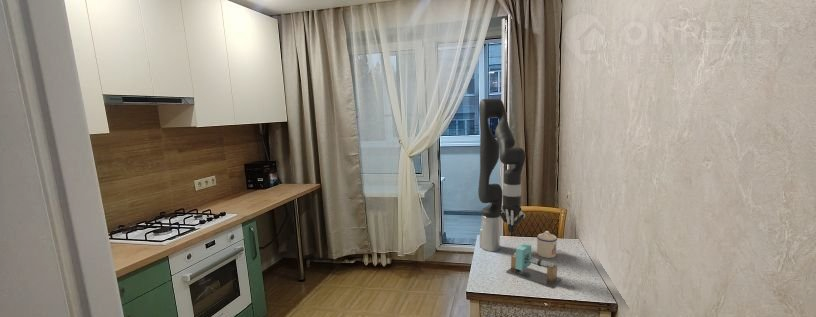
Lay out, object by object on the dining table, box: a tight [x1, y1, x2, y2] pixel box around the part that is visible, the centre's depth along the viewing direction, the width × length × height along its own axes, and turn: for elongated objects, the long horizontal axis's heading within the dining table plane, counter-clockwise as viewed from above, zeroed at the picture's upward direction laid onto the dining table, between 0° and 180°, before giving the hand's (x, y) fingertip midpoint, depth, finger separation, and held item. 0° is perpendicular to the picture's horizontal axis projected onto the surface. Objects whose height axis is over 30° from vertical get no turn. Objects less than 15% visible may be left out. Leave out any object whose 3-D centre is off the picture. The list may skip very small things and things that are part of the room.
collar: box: [515, 243, 532, 270], centre depth 155 cm, size 3×8×9 cm, turn 135°
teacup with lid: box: [536, 230, 558, 259], centre depth 176 cm, size 12×9×12 cm
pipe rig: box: [506, 251, 562, 289], centre depth 153 cm, size 20×9×8 cm, turn 45°
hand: (511, 232), depth 158 cm, fingers closed
